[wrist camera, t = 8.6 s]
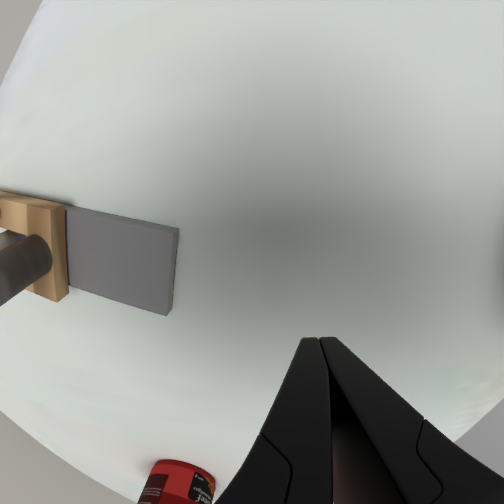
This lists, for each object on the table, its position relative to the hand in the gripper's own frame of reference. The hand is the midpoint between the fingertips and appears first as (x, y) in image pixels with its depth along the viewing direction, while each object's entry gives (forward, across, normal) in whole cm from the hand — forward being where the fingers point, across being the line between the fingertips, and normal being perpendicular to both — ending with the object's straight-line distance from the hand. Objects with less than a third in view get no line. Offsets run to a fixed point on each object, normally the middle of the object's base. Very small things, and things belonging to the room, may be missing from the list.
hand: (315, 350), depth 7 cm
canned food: (+12, +10, +32) cm, 35 cm away
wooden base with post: (+13, +20, +1) cm, 24 cm away
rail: (+13, +15, +2) cm, 20 cm away
